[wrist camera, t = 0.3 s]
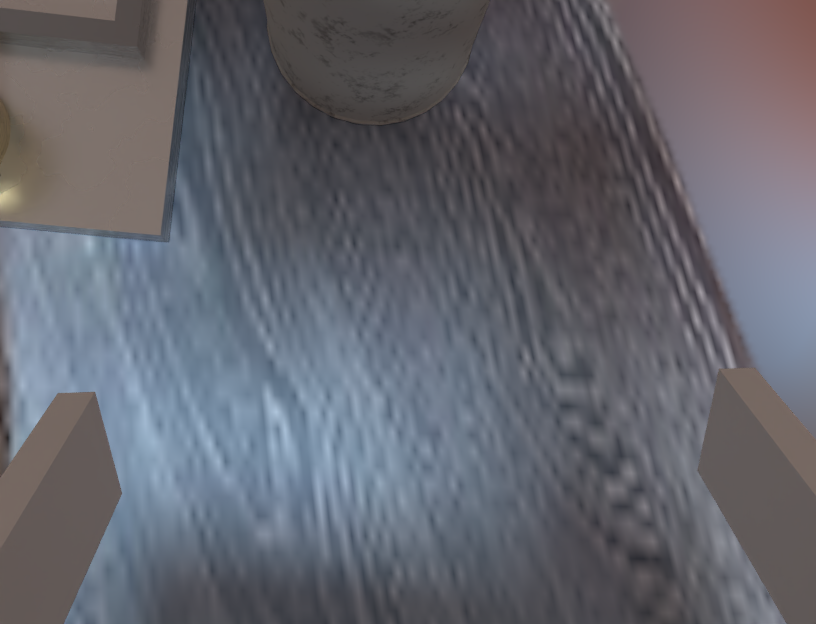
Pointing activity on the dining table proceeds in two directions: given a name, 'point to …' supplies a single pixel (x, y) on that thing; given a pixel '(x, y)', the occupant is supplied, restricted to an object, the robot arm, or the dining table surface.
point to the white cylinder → (373, 53)
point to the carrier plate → (92, 114)
